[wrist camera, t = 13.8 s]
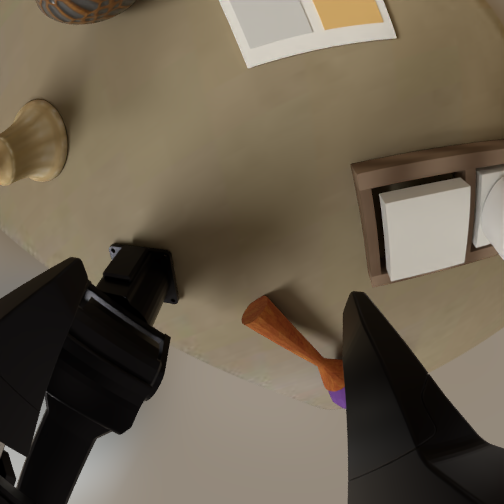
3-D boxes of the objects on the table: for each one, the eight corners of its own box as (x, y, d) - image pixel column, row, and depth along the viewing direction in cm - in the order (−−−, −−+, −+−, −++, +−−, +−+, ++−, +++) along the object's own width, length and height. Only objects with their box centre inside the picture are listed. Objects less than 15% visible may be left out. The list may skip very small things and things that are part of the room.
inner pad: (386, 268, 21) (391, 281, 20) (379, 193, 17) (385, 203, 16) (456, 251, 19) (464, 262, 18) (460, 177, 15) (470, 186, 14)
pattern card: (248, 68, 15) (247, 68, 15) (214, -10, 12) (213, -12, 12) (394, 38, 12) (397, 38, 12) (361, -41, 9) (363, -43, 9)
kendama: (279, 311, 22) (388, 400, 28) (277, 274, 28) (376, 366, 33) (229, 347, 24) (348, 422, 30) (234, 308, 30) (341, 388, 35)
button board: (368, 272, 24) (372, 287, 22) (350, 164, 18) (356, 174, 17) (519, 232, 19) (529, 244, 17) (528, 137, 13) (542, 144, 12)
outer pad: (468, 237, 19) (476, 247, 18) (471, 167, 16) (481, 174, 15) (517, 224, 17) (525, 233, 16) (524, 159, 14) (534, 165, 13)
